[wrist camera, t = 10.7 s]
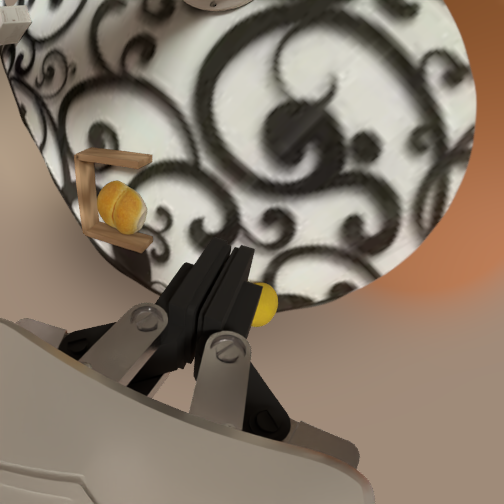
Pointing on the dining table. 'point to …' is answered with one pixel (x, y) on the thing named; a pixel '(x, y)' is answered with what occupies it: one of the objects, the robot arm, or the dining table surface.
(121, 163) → the bay
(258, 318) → the lemon
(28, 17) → the product box
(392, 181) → the dining table surface
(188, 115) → the dining table surface
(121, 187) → the bread roll
